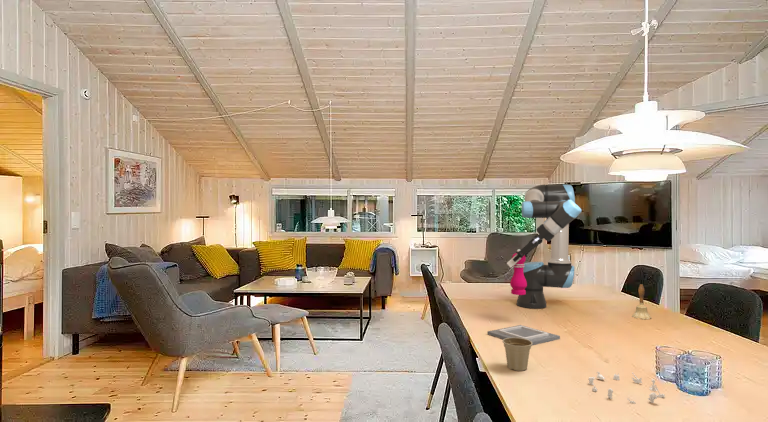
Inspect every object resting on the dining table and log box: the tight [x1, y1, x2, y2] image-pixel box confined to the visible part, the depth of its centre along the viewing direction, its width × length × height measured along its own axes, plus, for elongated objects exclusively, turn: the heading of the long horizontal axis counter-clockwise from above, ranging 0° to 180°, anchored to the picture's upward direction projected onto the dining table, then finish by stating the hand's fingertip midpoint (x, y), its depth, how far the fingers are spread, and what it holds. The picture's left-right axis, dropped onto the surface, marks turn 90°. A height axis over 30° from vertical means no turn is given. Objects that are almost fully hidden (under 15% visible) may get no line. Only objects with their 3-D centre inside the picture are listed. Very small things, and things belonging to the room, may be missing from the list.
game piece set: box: [588, 371, 666, 404], centre depth 134 cm, size 19×20×4 cm
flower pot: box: [502, 338, 533, 372], centre depth 152 cm, size 9×9×9 cm
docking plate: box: [487, 324, 561, 347], centre depth 189 cm, size 20×20×2 cm
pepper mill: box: [509, 248, 527, 296], centre depth 208 cm, size 7×7×20 cm
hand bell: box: [631, 283, 652, 320], centre depth 224 cm, size 8×8×16 cm
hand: (510, 264), depth 210 cm, fingers closed on pepper mill, 6 cm apart
